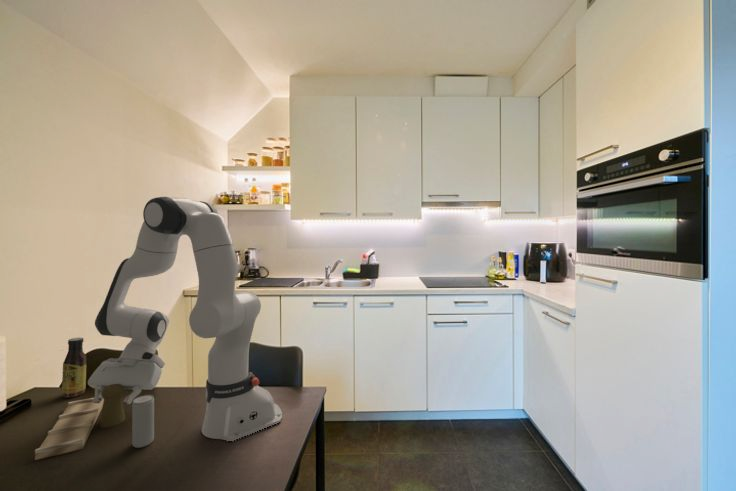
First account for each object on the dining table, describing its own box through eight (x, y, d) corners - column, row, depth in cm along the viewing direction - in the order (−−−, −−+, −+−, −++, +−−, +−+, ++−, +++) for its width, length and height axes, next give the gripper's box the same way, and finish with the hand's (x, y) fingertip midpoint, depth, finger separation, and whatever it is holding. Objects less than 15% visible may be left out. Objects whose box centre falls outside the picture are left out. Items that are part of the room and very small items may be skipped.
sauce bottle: (57, 398, 112) (56, 340, 112) (76, 389, 118) (76, 335, 118) (72, 399, 111) (72, 341, 110) (91, 391, 117) (91, 336, 117)
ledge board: (104, 402, 108) (104, 395, 108) (82, 448, 84) (82, 439, 84) (68, 409, 104) (69, 402, 104) (35, 460, 80) (35, 450, 80)
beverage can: (134, 440, 88) (135, 396, 88) (155, 436, 90) (155, 393, 90) (129, 450, 84) (130, 404, 84) (151, 446, 86) (152, 401, 85)
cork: (111, 428, 93) (111, 391, 93) (94, 426, 95) (94, 389, 94) (130, 417, 99) (130, 382, 99) (114, 415, 100) (114, 380, 100)
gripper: (99, 353, 104) (70, 398, 94) (161, 355, 103) (138, 400, 94) (110, 362, 109) (84, 406, 99) (169, 363, 108) (149, 407, 98)
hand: (111, 403), depth 96 cm, fingers open, 8 cm apart
